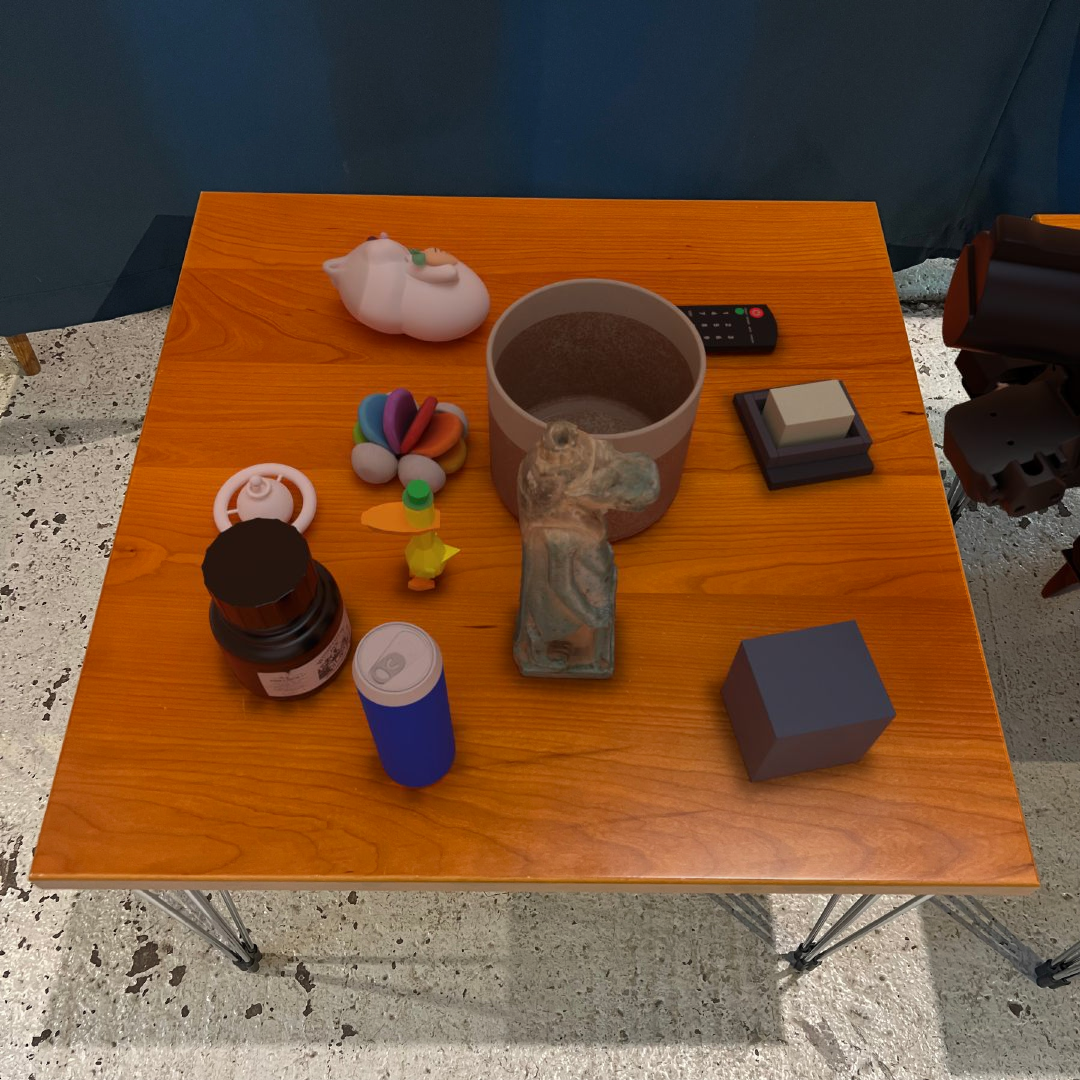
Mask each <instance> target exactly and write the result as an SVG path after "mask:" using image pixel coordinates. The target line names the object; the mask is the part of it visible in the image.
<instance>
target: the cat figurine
mask: <svg viewBox="0 0 1080 1080" xmlns="http://www.w3.org/2000/svg"><path fill="white" fill-rule="evenodd" d="M321 268H322V271H323V272H324V273H325V275H326V276H328V277H329V282H330V284H331V285H332V286H333V287H334V289H335V290H337V291H338V293H339V296H340V299H341V301H342V303H343V305H344V307H345V309H346V310H347V311H348V312H349V314H350V315H351V316H352V317H354V319H355V320H357V321H358V322H360V323H361V324H363V325H365V326H366V327H368V328H369V329H370V328H371V329H372V330H375V331H377V332H379V333H384V334H387V335H402V334H405V335H407V336H409V337H412V338H414V339H418V340H421V341H425V342H426V341H427V342H439V343H440V342H448V341H454V340H457V339H460V338H462V337H465V336H467V335H469V334H471V333H473V332H474V331H475V330H477V329H478V328H479V327H480V326H481V325H482V324H483V323H484V322H485V321H486V319H487V317H488V315H489V313H490V310H491V299H490V294H489V290H488V288H487V287H486V285H485V283H484V282H483V280H482V279H481V278H480V277H479V276H478V274H477V273H476V272H475V271H473V269H471V268H470V267H469V266H467V265H466V264H465V263H464V262H462V261H460V260H458V259H457V258H456V257H455V256H454V255H452V254H451V253H449V252H447V251H444V250H442V249H441V248H438V247H434V246H433V247H427V248H425V249H424V250H419V249H418V248H415V249H414V248H413V247H410V246H409V248H407V247H406V246H404V245H403V244H401V243H400V242H398V241H396V240H393V239H391V238H390V237H389V234H388V233H387V232H385V231H382V232H380V234H379V238H378V237H377V236H374V235H369V236H368V237H367V239H366V241H363V242H362V243H360V244H359V245H358V246H355V248H354V249H352V250H351V251H350V252H349V253H347V254H346V255H343V256H340V257H333V258H330V259H327V260H325V261H324V262H323V263H322V265H321Z"/></svg>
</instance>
